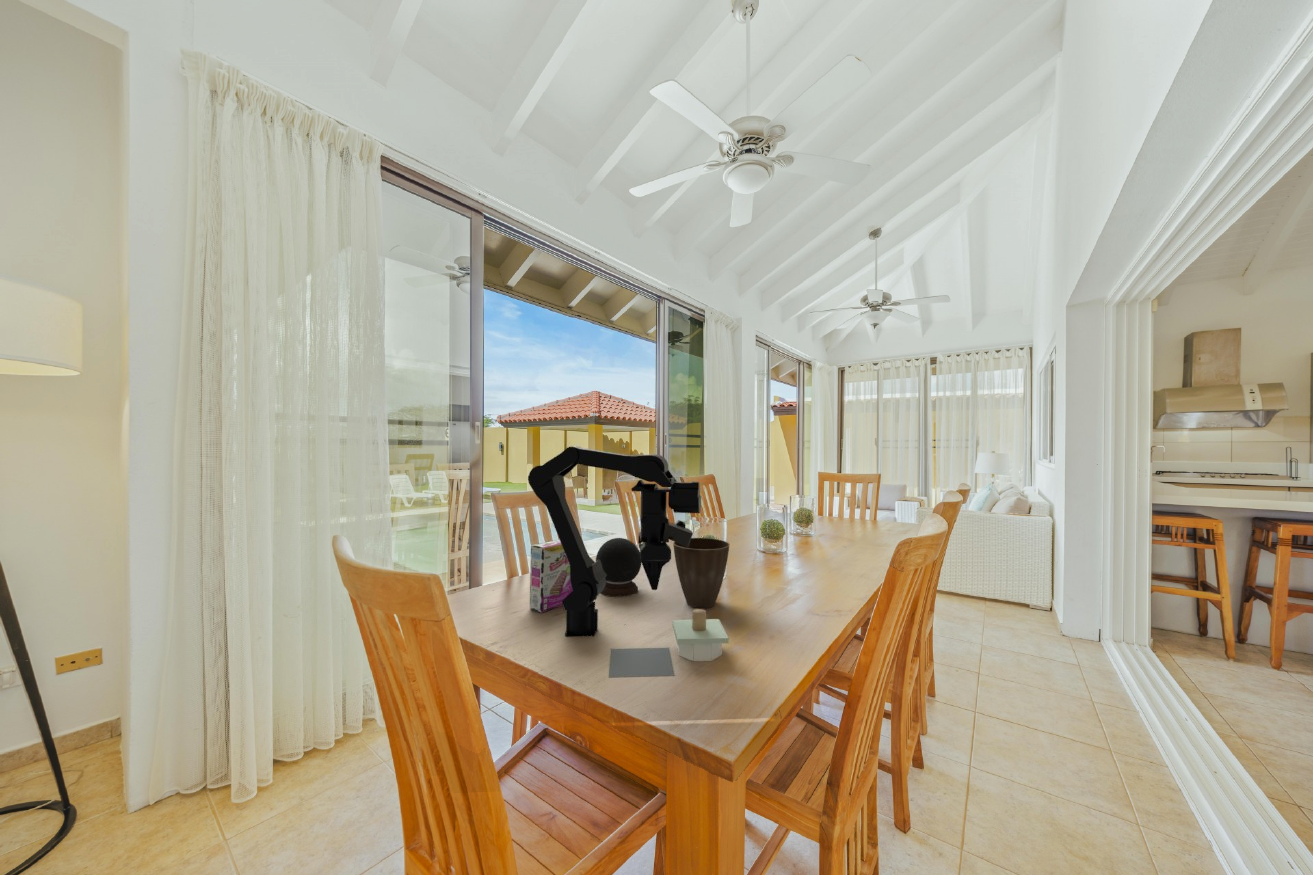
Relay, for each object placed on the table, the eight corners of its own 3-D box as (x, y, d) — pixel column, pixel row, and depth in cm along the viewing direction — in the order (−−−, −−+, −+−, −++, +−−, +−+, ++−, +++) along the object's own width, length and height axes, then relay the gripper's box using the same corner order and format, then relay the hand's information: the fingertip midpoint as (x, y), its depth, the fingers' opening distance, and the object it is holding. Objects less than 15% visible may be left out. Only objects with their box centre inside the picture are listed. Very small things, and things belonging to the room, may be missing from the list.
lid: (677, 644, 94) (677, 620, 95) (672, 624, 104) (672, 603, 104) (728, 643, 95) (728, 619, 95) (718, 623, 105) (718, 602, 105)
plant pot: (675, 593, 138) (676, 536, 139) (729, 595, 136) (729, 538, 136) (669, 611, 124) (670, 548, 124) (729, 614, 122) (729, 550, 122)
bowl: (680, 663, 95) (680, 642, 95) (675, 644, 104) (676, 625, 104) (724, 662, 96) (724, 641, 96) (716, 643, 104) (716, 624, 104)
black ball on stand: (629, 581, 150) (629, 532, 150) (649, 593, 138) (649, 540, 138) (588, 587, 143) (589, 536, 143) (605, 600, 132) (606, 544, 132)
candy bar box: (542, 613, 122) (542, 547, 122) (529, 609, 125) (529, 545, 125) (574, 601, 131) (575, 540, 131) (561, 598, 134) (561, 538, 134)
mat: (608, 679, 89) (608, 677, 89) (610, 650, 101) (610, 648, 101) (674, 677, 89) (674, 675, 89) (668, 649, 101) (668, 647, 101)
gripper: (696, 518, 98) (695, 596, 98) (685, 505, 117) (684, 571, 117) (640, 519, 98) (640, 597, 98) (638, 506, 116) (638, 571, 116)
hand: (653, 583), depth 107 cm, fingers open, 9 cm apart
